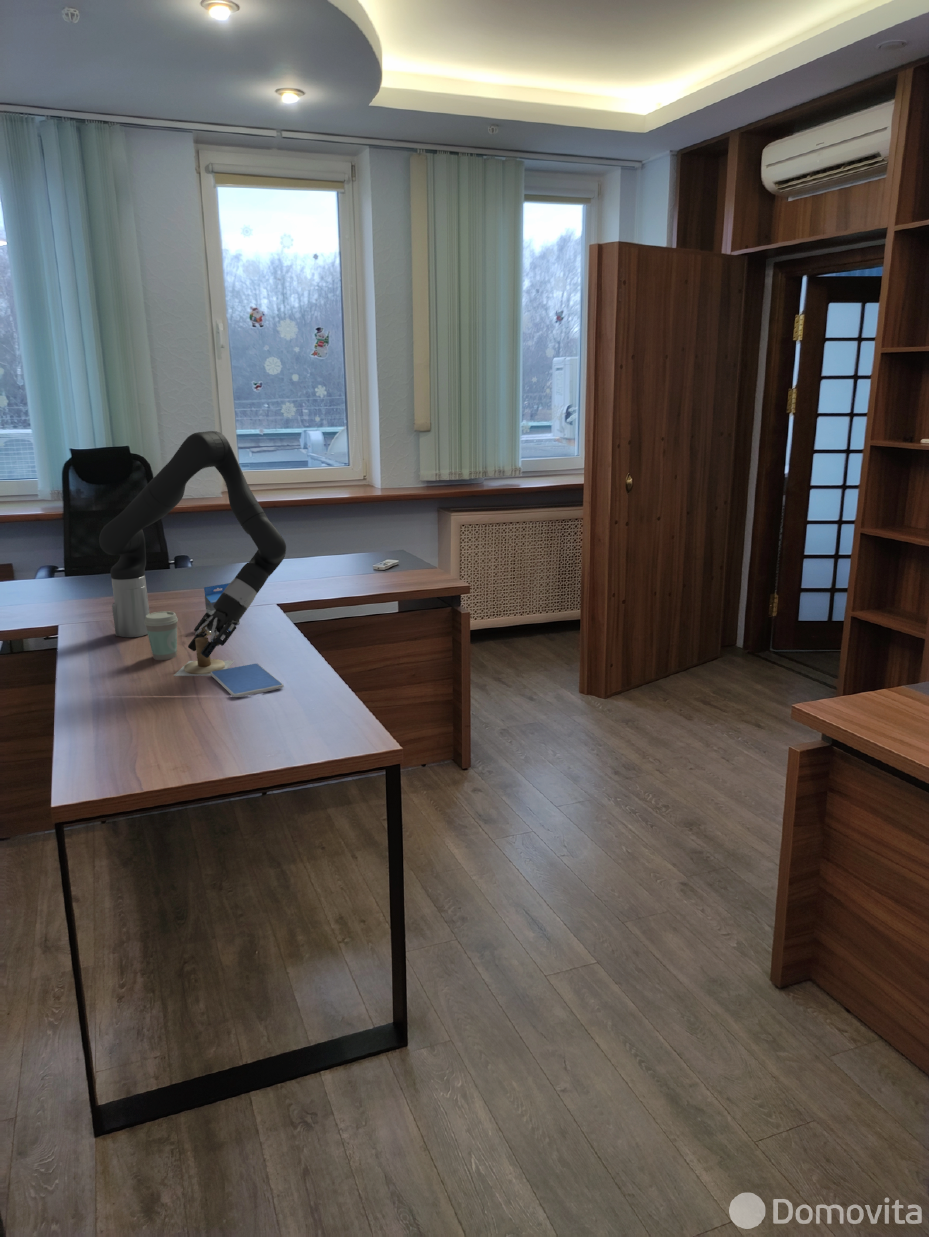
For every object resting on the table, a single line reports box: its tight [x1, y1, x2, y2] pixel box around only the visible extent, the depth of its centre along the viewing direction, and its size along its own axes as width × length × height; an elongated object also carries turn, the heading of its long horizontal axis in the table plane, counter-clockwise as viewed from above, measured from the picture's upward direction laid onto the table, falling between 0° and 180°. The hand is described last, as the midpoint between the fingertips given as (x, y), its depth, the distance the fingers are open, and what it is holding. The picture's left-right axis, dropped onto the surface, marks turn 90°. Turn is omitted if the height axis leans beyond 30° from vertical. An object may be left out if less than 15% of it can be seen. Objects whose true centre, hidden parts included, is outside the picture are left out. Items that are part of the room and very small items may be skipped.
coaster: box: [173, 660, 235, 677], centre depth 225 cm, size 12×12×1 cm
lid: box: [183, 636, 225, 674], centre depth 224 cm, size 10×10×8 cm
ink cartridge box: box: [203, 582, 241, 626], centre depth 264 cm, size 9×4×12 cm, turn 131°
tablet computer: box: [210, 663, 284, 698], centre depth 214 cm, size 19×13×1 cm, turn 32°
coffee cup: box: [144, 610, 179, 661], centre depth 234 cm, size 9×9×12 cm
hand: (197, 652), depth 223 cm, fingers open, 7 cm apart
